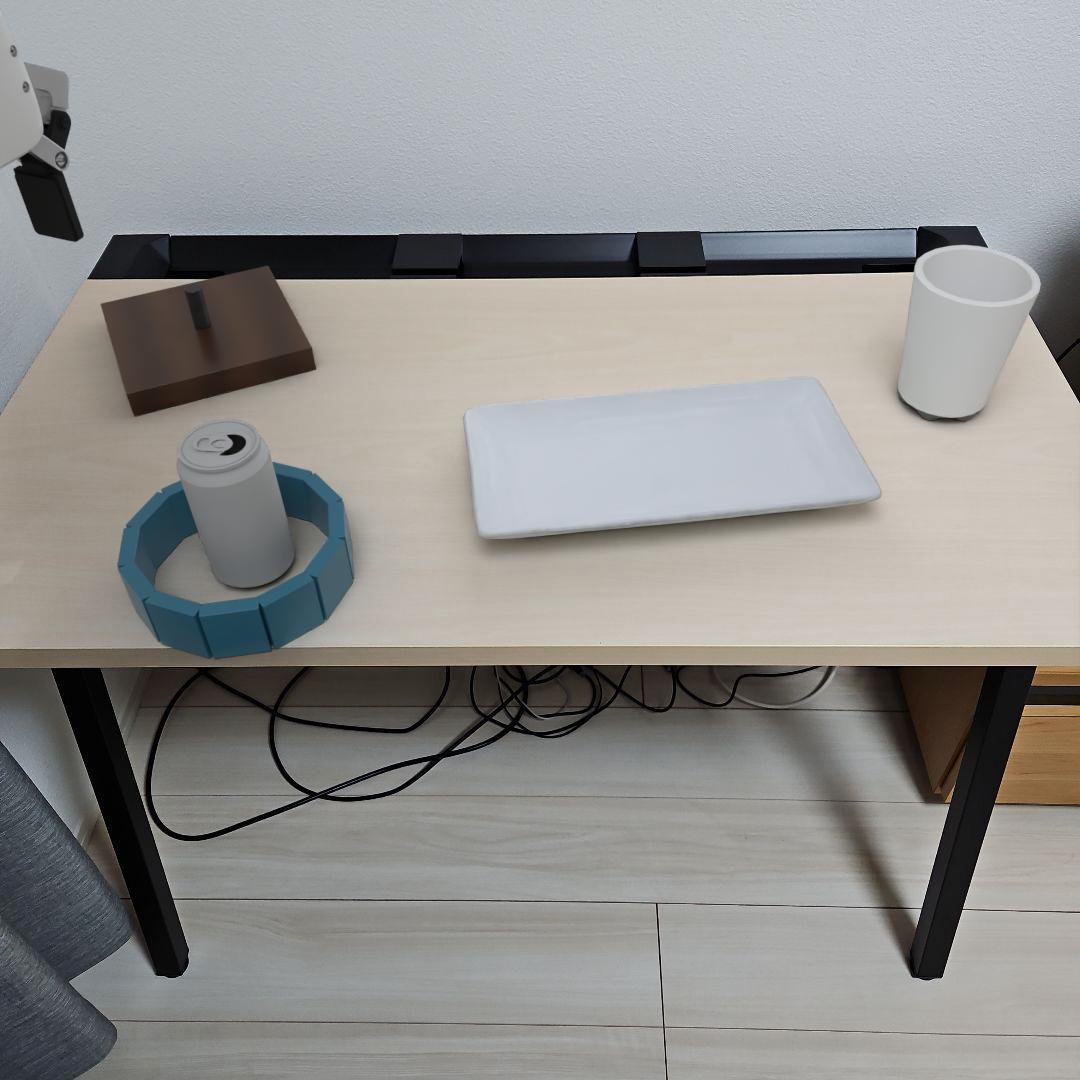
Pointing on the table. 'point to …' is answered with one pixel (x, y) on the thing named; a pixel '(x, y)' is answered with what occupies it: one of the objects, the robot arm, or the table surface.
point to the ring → (245, 619)
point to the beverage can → (235, 502)
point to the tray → (660, 458)
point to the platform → (205, 339)
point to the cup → (962, 327)
